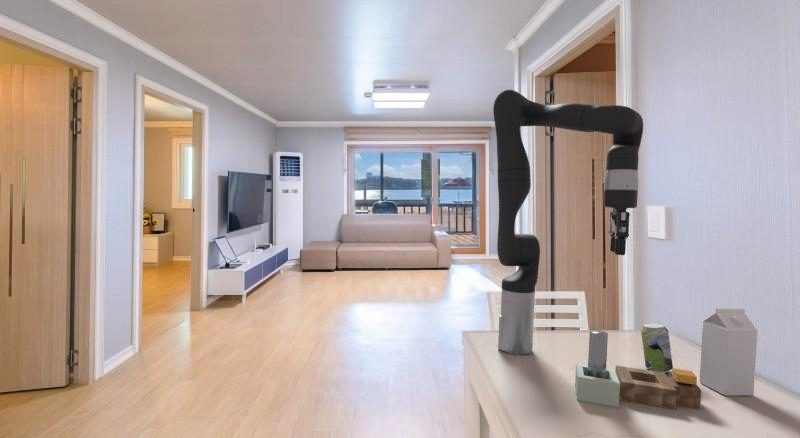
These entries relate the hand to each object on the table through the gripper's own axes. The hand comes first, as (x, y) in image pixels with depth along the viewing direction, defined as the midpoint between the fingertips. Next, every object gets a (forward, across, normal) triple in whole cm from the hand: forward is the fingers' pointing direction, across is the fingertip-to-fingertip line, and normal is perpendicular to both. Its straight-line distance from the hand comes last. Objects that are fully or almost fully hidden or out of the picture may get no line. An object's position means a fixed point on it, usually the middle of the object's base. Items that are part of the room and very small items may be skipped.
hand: (617, 253), depth 104 cm
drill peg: (+30, -17, +5) cm, 35 cm away
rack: (+30, -17, +5) cm, 35 cm away
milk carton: (+30, 0, -24) cm, 39 cm away
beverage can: (+30, +6, -11) cm, 33 cm away
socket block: (+30, -12, -7) cm, 33 cm away
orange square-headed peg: (+29, -12, -12) cm, 34 cm away
